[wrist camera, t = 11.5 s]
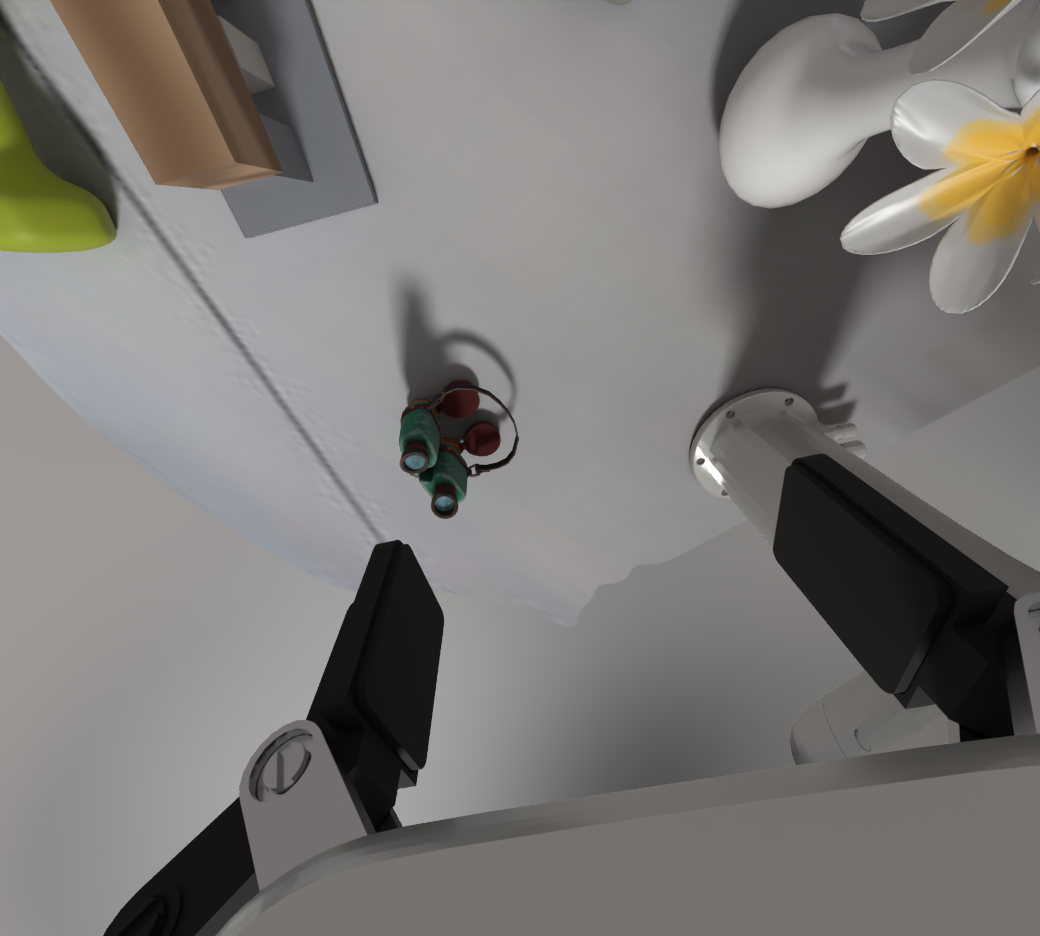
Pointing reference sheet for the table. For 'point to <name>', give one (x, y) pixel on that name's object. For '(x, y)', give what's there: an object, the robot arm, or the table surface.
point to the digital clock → (618, 1)
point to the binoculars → (447, 445)
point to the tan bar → (173, 89)
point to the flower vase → (903, 131)
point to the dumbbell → (42, 199)
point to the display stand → (293, 118)
